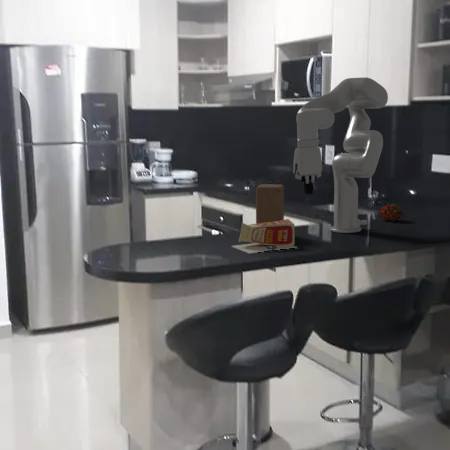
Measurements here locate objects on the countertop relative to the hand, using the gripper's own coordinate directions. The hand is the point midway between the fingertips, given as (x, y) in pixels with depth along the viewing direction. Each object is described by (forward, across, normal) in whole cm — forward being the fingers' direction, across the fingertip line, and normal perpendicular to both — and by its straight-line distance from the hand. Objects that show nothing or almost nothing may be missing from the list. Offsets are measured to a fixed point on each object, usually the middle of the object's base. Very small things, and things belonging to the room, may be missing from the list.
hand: (308, 193), depth 239 cm
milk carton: (+13, +8, -1) cm, 15 cm away
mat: (+18, +20, +1) cm, 26 cm away
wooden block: (+19, +7, -18) cm, 27 cm away
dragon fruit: (+21, -56, -22) cm, 64 cm away
